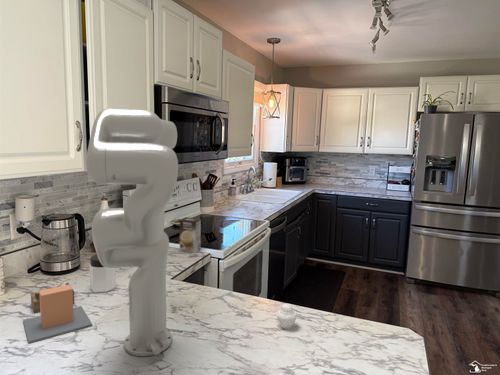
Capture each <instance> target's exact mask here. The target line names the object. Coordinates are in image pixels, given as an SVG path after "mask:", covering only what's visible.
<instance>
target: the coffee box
mask: <svg viewBox="0 0 500 375" xmlns="http://www.w3.org/2000/svg"><path fill="white" fill-rule="evenodd" d="M201 223H202V219H201V218H194V217H187V216H185V217H182V218H181V219H179V252H184V253H194V254H196V253H197V252H200V250H201V244H202V243H201V242H202V241H201V239H202V238H201V237H202V236H201V234H202V231H201V230H202V229H201V228H202V224H201ZM199 249H200V250H199Z"/></svg>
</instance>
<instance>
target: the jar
mask: <svg viewBox="0 0 500 375" xmlns="http://www.w3.org/2000/svg"><path fill="white" fill-rule="evenodd" d="M88 265H89V287H90V290H91V291H92V293H94V294H95V293H108V292H109V291H110V292H111V290H113V289H116V287H117V280H116V278H117V276H116V274H117V273H116V268H107V267H104V266H103V265H102V264H101V263H100V261H99V258H98V255H97V254H93V255H92V256H90V258H89V264H88Z"/></svg>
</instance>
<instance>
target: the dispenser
mask: <svg viewBox="0 0 500 375" xmlns="http://www.w3.org/2000/svg"><path fill="white" fill-rule="evenodd" d="M65 285H70V286H71V284H70V283H69V282H66V283H65ZM71 288H72V292H73V305H75V291H74V289H73V287H72V286H71ZM30 302H31V303H30V304H31V307H32V311H33V313H34V314H37V313H40V297H39V292H35V293H31V294H30Z"/></svg>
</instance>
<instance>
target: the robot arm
mask: <svg viewBox="0 0 500 375" xmlns="http://www.w3.org/2000/svg"><path fill="white" fill-rule="evenodd" d="M91 128H92V129H91V132H90V137H89V141H88V146H87V147H88V148H87V152H86V156H85V157H86V159H85V160H86V161H85V169H86V173H87V175H88V177H89V179H90V181H92V182H94V184H95V183H96V184H99V185H135V186H136V187H135V190H134V191H133V192H132V193H130V195H129V196H128V197H127V198H126V200H125V202H124V204H123V207H110V208H104V209H101V210H99V211H97V212H96V213H95V215H94V216H93V219H92V222H91V238H92V242H93V245H94V246H93V247H94V249H95V252H96V255H98V258H99V261H100V263H101V264H102V265H103V266H104V267H107V268H115V269H116V268H118V269H119V268H132V267H133V268H135V267H137V269H136V270H135V271H134V272H133V274H132V275H131V277H130V279H129V282H128V307H129V308H128V314H129V316H128V318H129V319H128V320H129V334H128V335H127V336H126V337H125V338H124V341H123V349H124V350H125V352H126V353H128V354H129V355H132V356H136V357H148V356H154V355H156V356H158V355H159V354H161V353H162V352H163V351H165V350H167V349H168V348H169V347H170V346H171V344H172V342H173V334H172V332H171V331H169V329H167V264H168V256H169V249H170V238H169V235H168V234H167V232H165V231H164V230H165V210H166V208H167V206H168V204H169V203H170V201H171V199H172V197H173V195H174V192H175V189H176V187H177V186H176V185H177V182H178V181H177V180H178V174H179V160H178V157H177V154H176V152H175V151H174V150H173V149H174V148H175V147H176V145H177V142H178V141H177V140H178V130H177V126H176V125H175V123H174V122H173V121H170V120H166V119H161V118H160V117H159V116H158V115H157V113H155V112H153V111H150V110H147V109H140V108H139V109H135V108H111V107H110V108H108V107H106V108H103V109H101V111H99V112H98V113H97V115H96V117H95V119H94V121H93V124H92V127H91Z"/></svg>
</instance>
